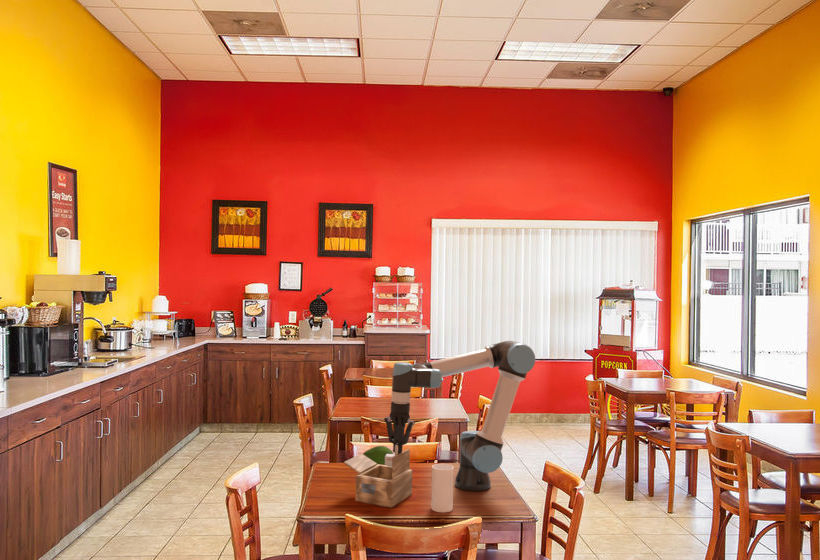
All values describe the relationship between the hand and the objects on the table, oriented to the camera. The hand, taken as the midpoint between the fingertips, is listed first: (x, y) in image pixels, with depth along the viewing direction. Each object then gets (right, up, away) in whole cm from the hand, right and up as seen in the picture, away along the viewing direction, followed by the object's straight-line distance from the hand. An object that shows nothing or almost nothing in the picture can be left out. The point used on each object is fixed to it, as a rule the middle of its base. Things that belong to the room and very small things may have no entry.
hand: (397, 461), depth 247 cm
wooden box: (-5, -15, +2) cm, 16 cm away
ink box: (-1, -16, +21) cm, 27 cm away
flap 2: (+2, -5, -1) cm, 5 cm away
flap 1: (-11, -5, +5) cm, 14 cm away
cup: (+17, -16, -9) cm, 25 cm away
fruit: (-10, -16, +43) cm, 47 cm away
